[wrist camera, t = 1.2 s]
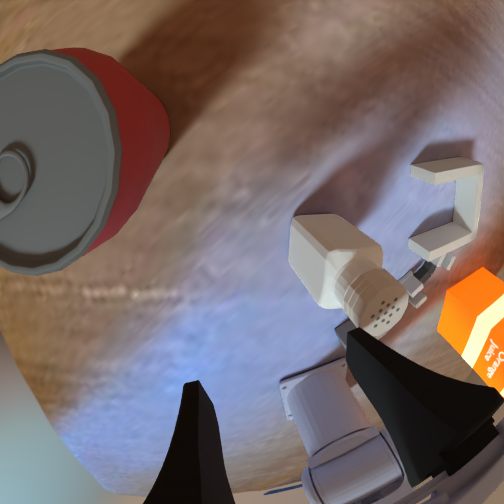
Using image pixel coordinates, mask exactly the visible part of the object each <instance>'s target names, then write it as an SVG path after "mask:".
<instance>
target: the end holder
mask: <svg viewBox="0 0 504 504" xmlns="http://www.w3.org/2000/svg"><path fill="white" fill-rule="evenodd" d="M410 170H411V176H412V177H415V178H417V179H420V180H423V181H425V182H428V183H430V184H433V185H439V184H443V183H447V182H451V181H455V180H456V187H455V202H454V213H453V222H450V223H447V224H445V225H442V226H440V227H437V228H434V229H432V230H429V231H426V232H424V233H421V234H418V235H416V236H413V237H410V238H409V241H408V248H410V249H411V250H412V251H414V252H415V253H417V254H418V255H419V256H421V257H422V258H424V259H425V260H426V261H428V262H429V261H431V260H433V259H436V258H438V257H440V256H442V255H444V254H446V253H448V252H450V251H452V250H455V249H457V248H459V247H461V246H463V245H465V244H467V243H469V242H471V241H473V240H475V239H476V235H477V229H478V222H479V215H480V207H481V198H482V186H483V171H484V164H483V163H480V162H477V161H474V160H471V159H468V158H465V157H455V158H448V159H442V160H435V161H429V162H423V163H417V164H412V165H410Z"/></svg>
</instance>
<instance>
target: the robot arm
mask: <svg viewBox="0 0 504 504" xmlns="http://www.w3.org/2000/svg"><path fill="white" fill-rule="evenodd" d="M347 364H348V366H349V368H350V370H351V372H352V374H353V376H354V378H355V380H356V381H357V383H358V384H359V386H360V387H361V389H362V390H363V392H364V393H365V395H366V396H367V398H368V399H369V400H370V402H371V403H372V405H373V406H374V408H375V409H376V411H377V412H378V414H379V416H380V417H381V419H382V421H383V423H384V425H385V427H386V429H385V428H383V429H381V430H380V431H378V430H377V428H376V426H375V425H373V426H372V424H371V423H370V421H369V419H368V417H367V416H366V414H365V412H364V411H363V409H362V407H361V406H360V404H359V402H358V401H357V399H356V397H355V396H354V394H353V392H352V391H351V389H350V387H349V386H348V384H347V382H346V373H347ZM279 388H280V392H281V396H282V400H283V405H284V409H285V413H286V417H287V420H293V419H294V421H295V423H296V426H297V428H298V430H299V433H300V435H301V438H302V440H303V443H304V445H305V447H306V450H307V452H308V455H309V457H310V458H308V459H307V463H308V465H309V467H306V468H305V469H304V471H303V474H302V477H301V479H302V485H303V488H304V491H305V493H306V496H307V498H308V499H309V501H310V503H311V504H416V503H418V502H419V501H421V500H422V499H424V498H426V497H427V496H429V495H430V494H431V498H430V499H429V500H427V501H425V502H424V503H422V504H483V503H484V502H485V501H486V500H487V499H488V497H489V496H490V495H491V494H492V493H493V492H494V491H495V490H496V488H498V486H499V485H500V484H501V483H502V481H504V418H503V419H502V420H501V421H500V422H499V423H498V424H497V425H496V426H494V425H493V422H494V419H493V418H492V415H493V414H494V413H495V412H496V411H497V409H499V407H500V406H501V405H502V404H503V402H504V398H503V396H502V395H501V394H500V393H499V392H498V391H497V389H496V388H495V387H489V386H482V385H475V384H470V383H466V382H462V381H459V380H456V379H453V378H449V377H446V376H443V375H441V374H438V373H436V372H433V371H431V370H429V369H427V368H425V367H422V366H420V365H418V364H417V363H415V362H413V361H411V360H409V359H407V358H406V357H404V356H402V355H401V354H399V353H397V352H396V351H394V350H393V349H391V348H389V347H388V346H386V345H385V344H383V343H382V342H380V341H379V340H377V339H376V338H375V337H373V336H372V335H370V334H369V333H368V332H366V331H365V330H363V329H362V328H360V327H358V328H355V329H353V330H351V331H348V332H347V346H346V358H341V359H339V360H337V361H334V362H332V363H329V364H327V365H324V366H322V367H319V368H316V369H314V370H311V371H308V372H306V373H303V374H300V375H297V376H294V377H292V378H289V379H286V380H283V381H281V382H280V383H279ZM430 476H432V477H433V479H432V480H430V481H429V482H428V483H426V484H425V485H423V486H421V487H420V488H418V489H417V490H415V488H416V486H417V485H418V484H420V483H421V482H423V481H424V480H426V479H427V478H429V477H430ZM414 490H415V491H414ZM143 504H235V501H234V498H233V495H232V492H231V489H230V485H229V482H228V479H227V475H226V471H225V466H224V459H223V453H222V446H221V439H220V432H219V426H218V421H217V417H216V413H215V409H214V405H213V403H212V401H211V400H210V398H209V397H208V395H207V393H206V392H205V390H204V388H203V387H202V385H201V383H200V382H199V380H197V381H193V382H189V383H185V384H184V386H183V393H182V399H181V404H180V409H179V414H178V418H177V422H176V426H175V430H174V434H173V437H172V440H171V443H170V447H169V450H168V453H167V455H166V458H165V461H164V463H163V466H162V468H161V470H160V473H159V475H158V477H157V479H156V481H155V483H154V485H153V487H152V489H151V491H150V493H149V494H148V496H147V498H146V500H145V501H144V503H143Z"/></svg>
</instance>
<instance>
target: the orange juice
mask: <svg viewBox="0 0 504 504" xmlns="http://www.w3.org/2000/svg"><path fill="white" fill-rule="evenodd" d="M437 331H438V332H439V333H440V334H441V335H442V336H443V337H444V338H445V339H446V340H447V341H448V342H449V343H450V344H451V345H452V346H453V347H454V348H455V349H456V350H457V352H458V353H459V354H460V355H461V356H462V357H463V359H464V360H465V361H466V362H467V363H468V364H469V365H470V366H471V367H472V368H473V369H474V370H475V371H476V372H477V373H478V374H479V376H480V377H481V378H482V379H483V380H484V381H485V382H486V384H487V385H488V386H489V387H495V388H496V389H497V391H498V392H499V393H500V394H501V395H502V396H503V398H504V282H503V281H501V280H500V279H499V278H497V277H496V276H495V275H493V274H492V273H490V272H489V271H488V270H486V269H485V268H483V267H482V268H480V269H479V270H477V271H476V272H474V273H473V274H472V275H470V276H469V277H467V278H466V279H464V280H462V281H461V282H459V283H458V284H456V285H455V286H453V287H452V288H450V289H448V290H447V293H446V297H445V302H444V306H443V310H442V314H441V318H440V321H439V325H438V328H437Z"/></svg>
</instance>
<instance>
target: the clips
mask: <svg viewBox="0 0 504 504" xmlns="http://www.w3.org/2000/svg"><path fill="white" fill-rule="evenodd" d="M421 258H422V257H421ZM455 258H456V257H455V256H453V255H452V254H450V253H449V252H448V253H446V254H444V255H442V256H440V257H438V258H436V259H433V260H431V261H430V262H431V263H433V264H434V265H436V266H437V267H440V266H442V267H443V268H445V269H446V270H450V268H451V266H452V264H453V262H454V260H455ZM422 259H424V258H422ZM424 260H425V259H424ZM399 282H400V283H401V284H402V285H403V286H404V287H405V289H406V290H407V292H408V294H409V295H410V297H409V299H408V301H409V302H410V303H411V304H412V305H413V306H414V307H415V308H416V309H417V308H418V307H419V306H420V305H422V304H423V303H424V302H425V301H426V300H427V297H426V295H425V294H424V293H423V292H422V291H421V290H422V289H423V288H424V287H423V283H422V282H420V281H419V280H418V279H417V278H416V277H414V275H413V272H412V271H411V270H410V271H409V272H408V273H407V274H406V275H405V276H404V277H402V278H401V279H400V280H399ZM386 334H387V331H386V332H384V333H382V334H380V335H378V336H373V337H375V338H376V339H377V340H378V339H380V338H381V337H383V336H384V335H386Z"/></svg>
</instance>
